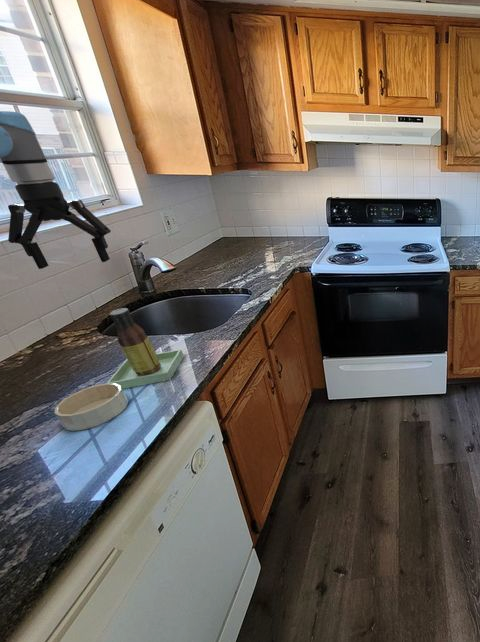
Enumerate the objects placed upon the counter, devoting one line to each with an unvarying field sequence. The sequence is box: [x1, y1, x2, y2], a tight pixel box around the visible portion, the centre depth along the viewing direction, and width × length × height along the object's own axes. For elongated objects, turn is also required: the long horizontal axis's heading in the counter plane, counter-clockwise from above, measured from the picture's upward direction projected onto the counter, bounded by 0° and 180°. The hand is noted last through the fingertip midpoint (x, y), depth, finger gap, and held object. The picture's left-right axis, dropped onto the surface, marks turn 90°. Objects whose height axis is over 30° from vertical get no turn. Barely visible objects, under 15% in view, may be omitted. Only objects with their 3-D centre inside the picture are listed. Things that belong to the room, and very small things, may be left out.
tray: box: [106, 348, 185, 390], centre depth 106 cm, size 14×13×2 cm
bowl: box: [54, 382, 129, 432], centre depth 90 cm, size 12×12×4 cm
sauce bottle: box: [109, 307, 161, 376], centre depth 102 cm, size 6×6×20 cm
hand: (75, 264), depth 99 cm, fingers open, 13 cm apart
